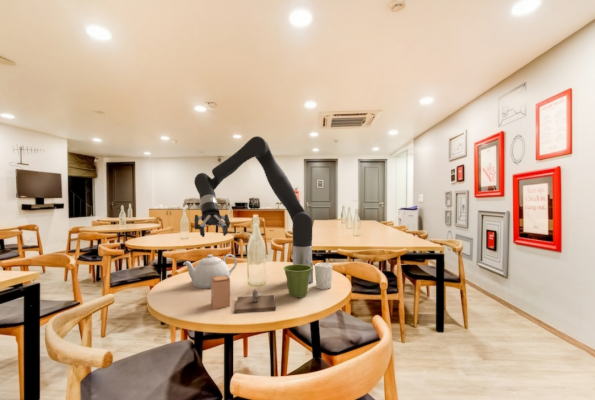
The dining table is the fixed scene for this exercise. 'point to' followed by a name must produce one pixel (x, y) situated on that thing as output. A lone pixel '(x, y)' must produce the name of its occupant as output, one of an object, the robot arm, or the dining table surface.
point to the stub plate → (255, 303)
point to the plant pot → (297, 279)
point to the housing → (220, 291)
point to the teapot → (208, 270)
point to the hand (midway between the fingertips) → (214, 235)
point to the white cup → (323, 275)
